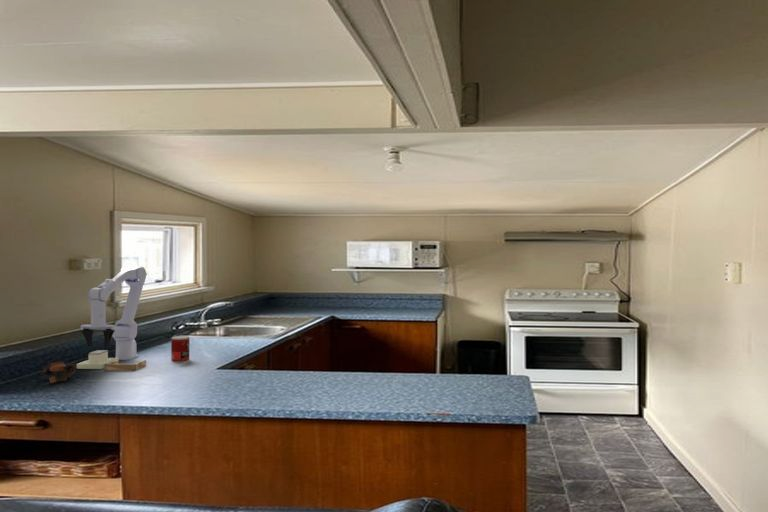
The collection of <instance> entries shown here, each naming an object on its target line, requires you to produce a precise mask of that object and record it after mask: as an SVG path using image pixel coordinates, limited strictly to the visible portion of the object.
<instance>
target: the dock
mask: <svg viewBox="0 0 768 512" xmlns="http://www.w3.org/2000/svg"><path fill="white" fill-rule="evenodd" d="M146 366H147V360H146V359H143V360H141V361H138V362H136V363H120V360H115V361H112V362H110V363H107V364H105V368H104V371H112V372H113V371H116V372H117V371H119V372H121V371H122V372H123V371H124V372H125V371H128V372H130V371H131V372H136V371H137V370H140V369H142V368H144V367H146Z"/></svg>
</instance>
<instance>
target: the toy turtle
mask: <svg viewBox="0 0 768 512" xmlns="http://www.w3.org/2000/svg"><path fill="white" fill-rule="evenodd" d="M71 369H72V370H71ZM70 370H71V371H70ZM77 370H78V369H77V364H74V363H69V364H65V361H56V362H52V363H48V364H46V365H44V366H43V367H42V372H41V376H43V375H44V376H51V377H49V378H48V380H49V382H50V383H49V384H55V383H57V382H67V381H68V380H67V379H69V378H71V376H72V375H74V374H75V373H76V371H77ZM66 380H67V381H66ZM54 382H55V383H54Z"/></svg>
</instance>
